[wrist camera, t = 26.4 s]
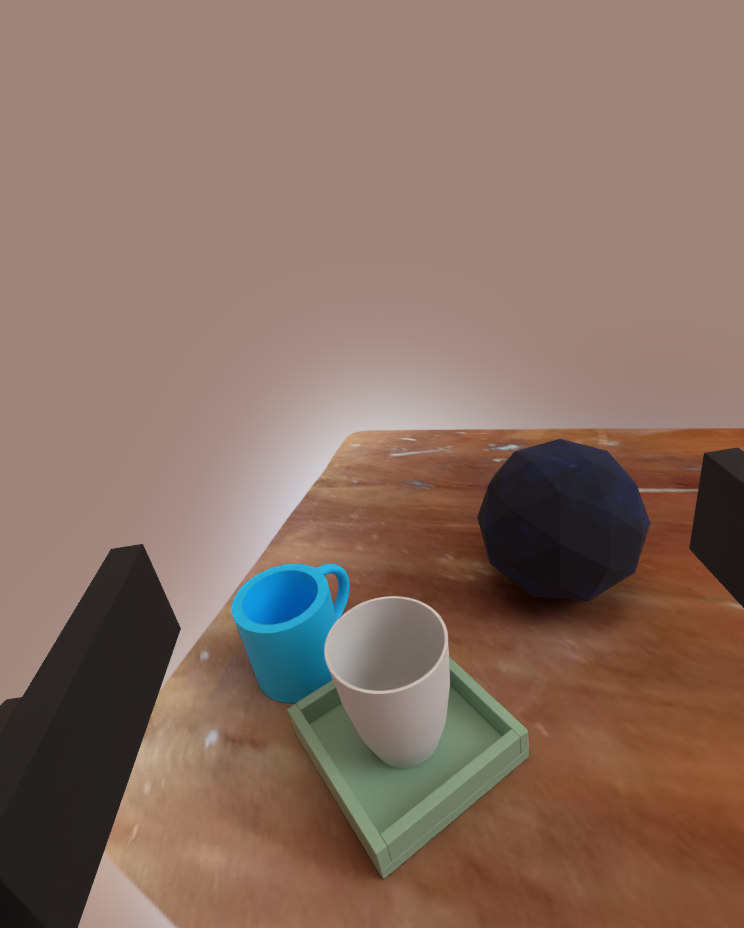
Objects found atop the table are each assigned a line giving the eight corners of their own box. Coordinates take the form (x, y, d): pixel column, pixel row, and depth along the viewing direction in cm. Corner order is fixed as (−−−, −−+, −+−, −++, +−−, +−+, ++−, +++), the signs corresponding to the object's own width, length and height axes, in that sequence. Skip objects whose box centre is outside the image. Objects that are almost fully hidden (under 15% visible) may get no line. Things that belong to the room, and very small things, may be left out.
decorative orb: (488, 476, 62) (471, 415, 49) (635, 478, 57) (659, 410, 44) (482, 605, 57) (460, 575, 43) (642, 618, 52) (672, 589, 39)
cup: (471, 702, 42) (461, 606, 37) (442, 807, 36) (426, 707, 31) (375, 679, 45) (354, 588, 40) (333, 771, 39) (302, 676, 34)
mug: (305, 718, 44) (282, 647, 40) (237, 679, 49) (211, 612, 45) (387, 620, 52) (373, 552, 48) (322, 594, 57) (305, 531, 53)
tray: (383, 880, 33) (375, 854, 32) (295, 733, 43) (286, 708, 42) (529, 757, 39) (528, 730, 37) (421, 650, 48) (417, 626, 47)
